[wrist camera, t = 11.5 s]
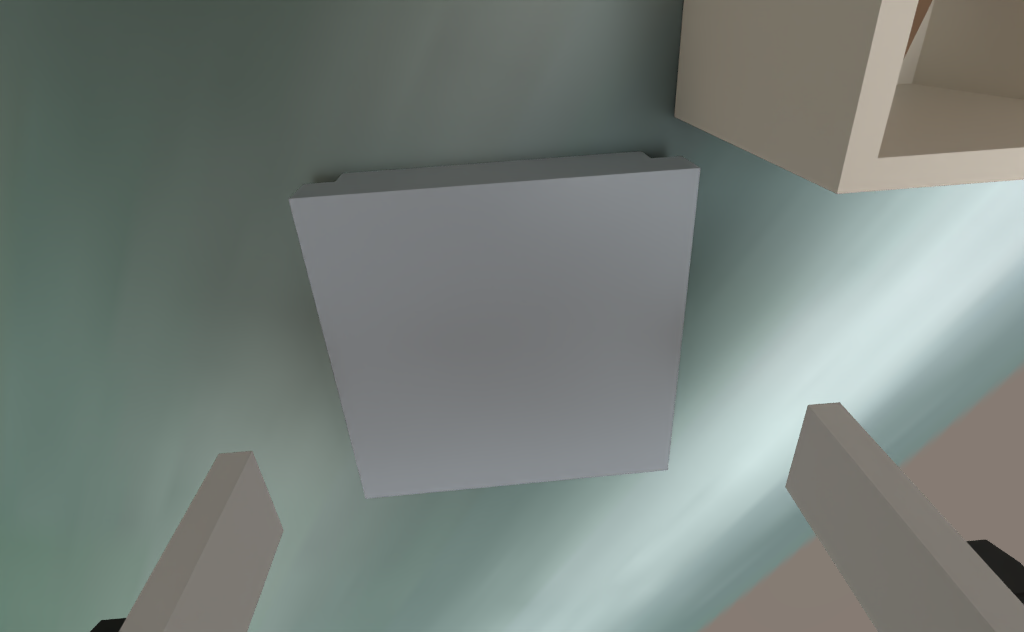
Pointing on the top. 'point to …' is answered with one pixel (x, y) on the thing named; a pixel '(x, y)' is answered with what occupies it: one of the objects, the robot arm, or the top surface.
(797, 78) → the crate
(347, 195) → the lid
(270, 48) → the top surface
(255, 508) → the robot arm
